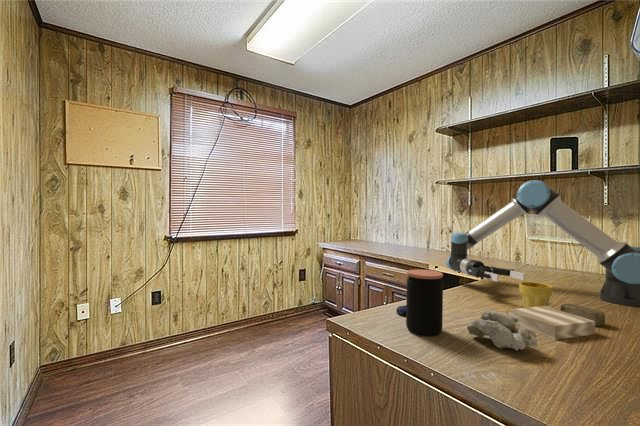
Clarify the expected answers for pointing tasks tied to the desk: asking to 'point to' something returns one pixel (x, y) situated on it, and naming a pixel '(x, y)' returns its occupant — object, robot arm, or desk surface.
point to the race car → (401, 310)
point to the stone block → (585, 313)
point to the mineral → (502, 330)
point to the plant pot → (535, 293)
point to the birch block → (553, 322)
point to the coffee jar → (424, 302)
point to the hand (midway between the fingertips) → (511, 277)
